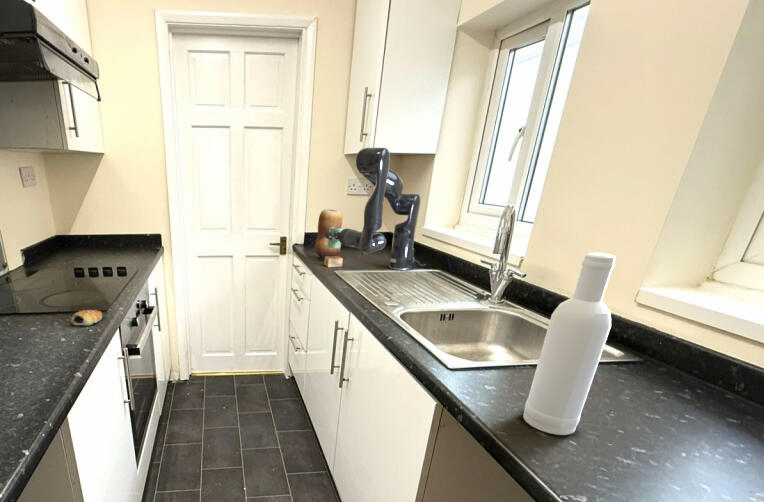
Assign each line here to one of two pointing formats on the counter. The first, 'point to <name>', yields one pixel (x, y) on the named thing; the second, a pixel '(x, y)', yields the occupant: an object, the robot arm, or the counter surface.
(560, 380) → the bottle
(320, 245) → the butternut squash
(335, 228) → the cup
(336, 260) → the block
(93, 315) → the pastry
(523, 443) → the counter surface
